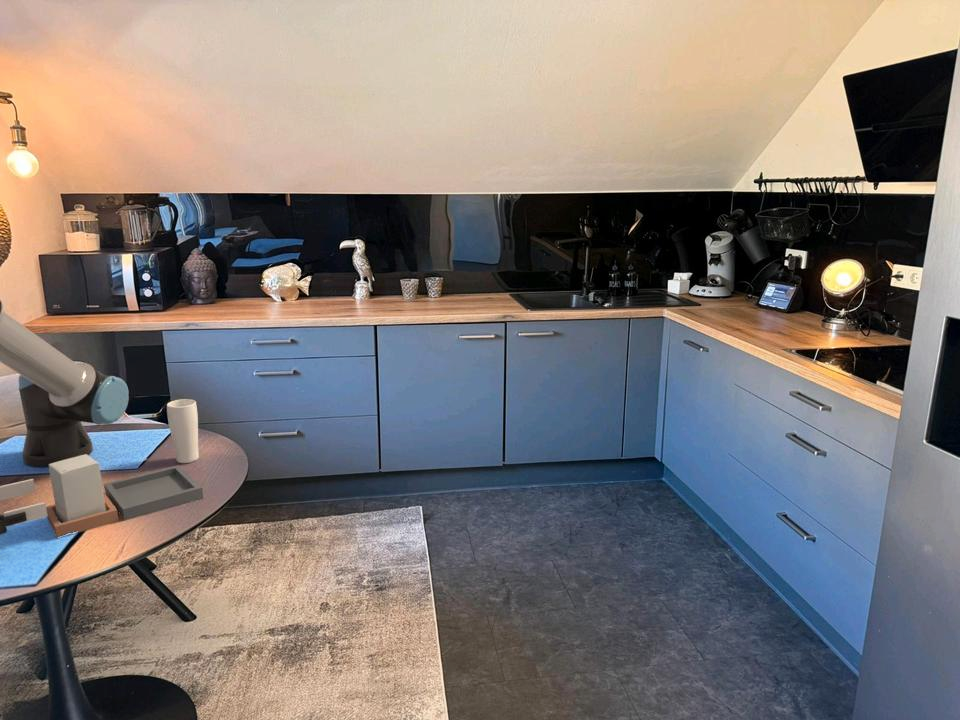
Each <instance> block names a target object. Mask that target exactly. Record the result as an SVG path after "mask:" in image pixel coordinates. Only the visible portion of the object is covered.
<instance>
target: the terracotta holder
mask: <svg viewBox="0 0 960 720" xmlns="http://www.w3.org/2000/svg"><path fill="white" fill-rule="evenodd" d="M103 494H104V501H105V507H106V511H104V512H100V513H97V514H93V515H89V516H86V517H82V518H78V519H75V520H71V521H67V522H64V523H60V522H59V521H58V519H57V513H56V506H55V504H51V505H48V506H47V505H46V510H47V517H46V519H47V521H48V524H49V525H50V527H51V529H52V531H53V530H54V531H53V533H54V532H55V533H54V535H55V534H56V535H55V538H56V539H59V538H58V537H60V536H63V535H66V534H68V533H73V532H77V531H78V532H79V533H82V532H84V531H88V530H89V531H90V530H92V529H96V528H100V527H103V526H107V525H110V524H114V523H117V522H119V512H118V511H117V509H116V508H115V507H114V505H113V504H112V502H111V501H110V500H109V498H108V497H107V496H106V494H105V491H103ZM113 522H114V523H113ZM109 523H110V524H109Z"/></svg>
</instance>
